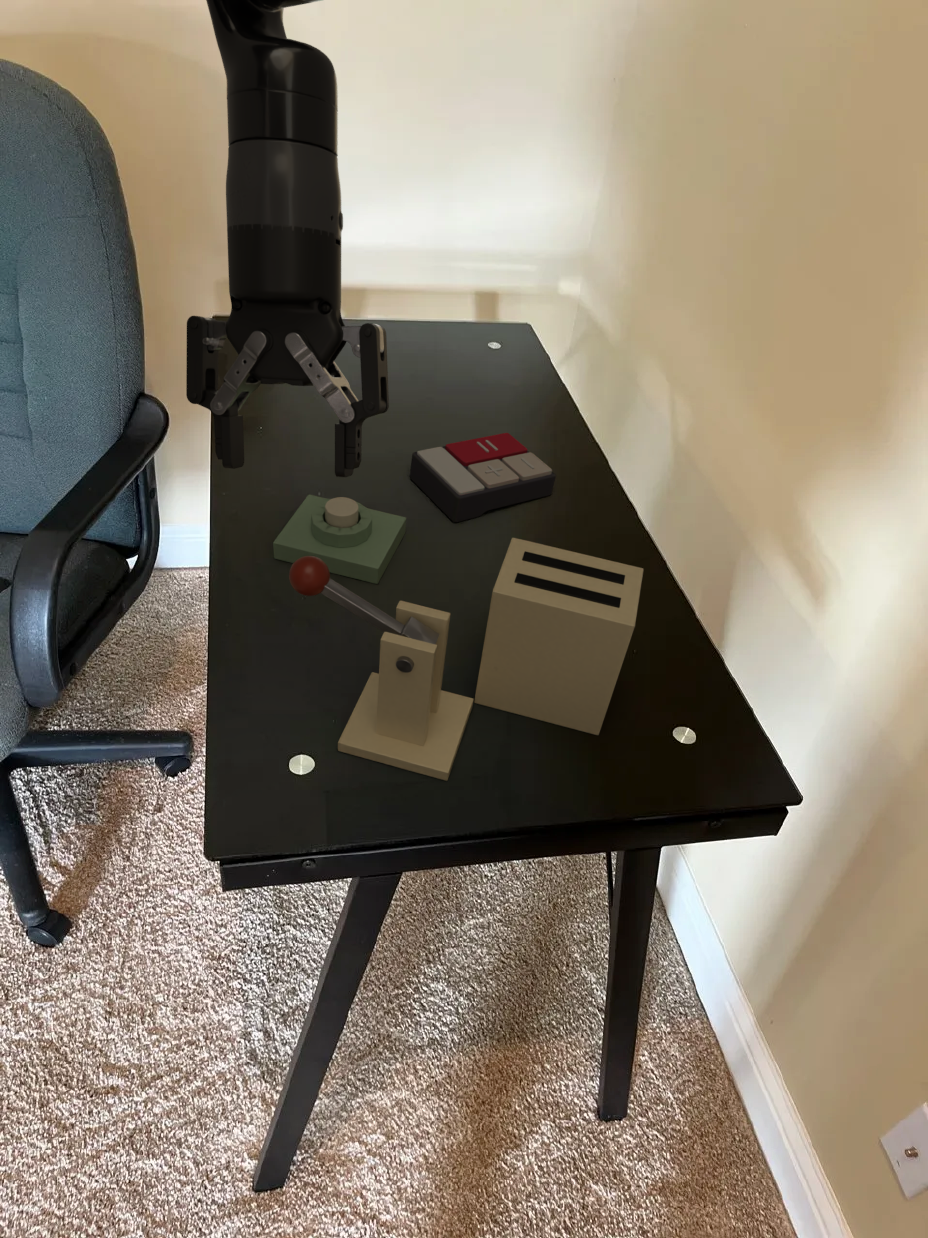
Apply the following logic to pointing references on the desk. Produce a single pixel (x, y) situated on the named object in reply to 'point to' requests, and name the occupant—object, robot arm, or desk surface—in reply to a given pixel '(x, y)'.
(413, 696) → the lever bracket
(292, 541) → the switch block
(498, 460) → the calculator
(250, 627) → the desk surface
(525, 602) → the toaster
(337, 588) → the red-knobbed metal lever
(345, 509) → the button
